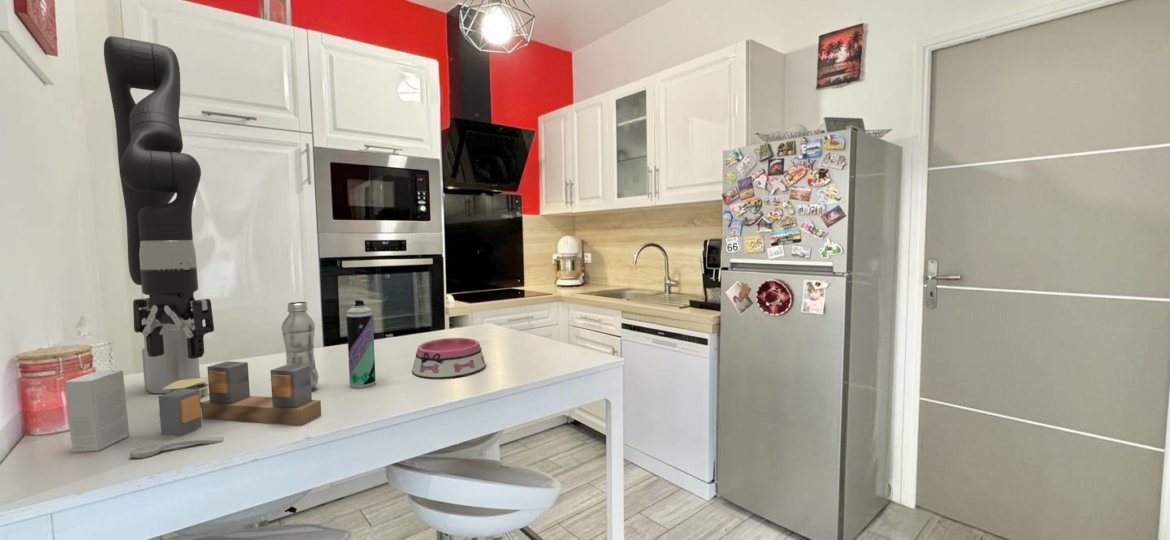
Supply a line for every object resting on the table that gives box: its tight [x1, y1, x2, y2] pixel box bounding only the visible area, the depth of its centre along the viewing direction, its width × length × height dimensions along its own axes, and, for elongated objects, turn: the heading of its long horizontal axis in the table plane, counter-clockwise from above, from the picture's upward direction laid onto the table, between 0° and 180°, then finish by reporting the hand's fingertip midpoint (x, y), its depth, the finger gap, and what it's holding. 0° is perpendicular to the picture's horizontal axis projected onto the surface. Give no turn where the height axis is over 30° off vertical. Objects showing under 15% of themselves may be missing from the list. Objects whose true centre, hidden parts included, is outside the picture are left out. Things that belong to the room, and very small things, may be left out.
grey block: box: [157, 389, 203, 437], centre depth 87 cm, size 4×4×7 cm
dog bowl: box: [411, 337, 487, 380], centre depth 125 cm, size 18×19×7 cm
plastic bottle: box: [281, 301, 319, 390], centre depth 108 cm, size 6×7×20 cm
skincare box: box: [64, 369, 130, 453], centre depth 81 cm, size 6×4×12 cm
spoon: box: [129, 436, 225, 459], centre depth 80 cm, size 3×12×2 cm, turn 123°
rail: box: [200, 360, 322, 427], centre depth 93 cm, size 22×5×10 cm, turn 80°
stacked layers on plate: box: [163, 377, 209, 401], centre depth 98 cm, size 10×9×6 cm
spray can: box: [346, 299, 376, 389], centre depth 112 cm, size 6×6×20 cm
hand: (176, 356), depth 86 cm, fingers open, 8 cm apart
